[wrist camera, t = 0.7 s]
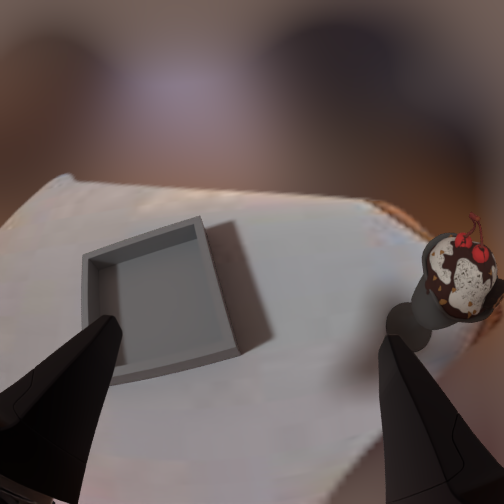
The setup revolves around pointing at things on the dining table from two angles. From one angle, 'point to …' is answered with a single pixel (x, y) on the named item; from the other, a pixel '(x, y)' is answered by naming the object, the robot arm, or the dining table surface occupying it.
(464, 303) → the sundae
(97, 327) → the robot arm
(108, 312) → the tray
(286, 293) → the dining table surface
